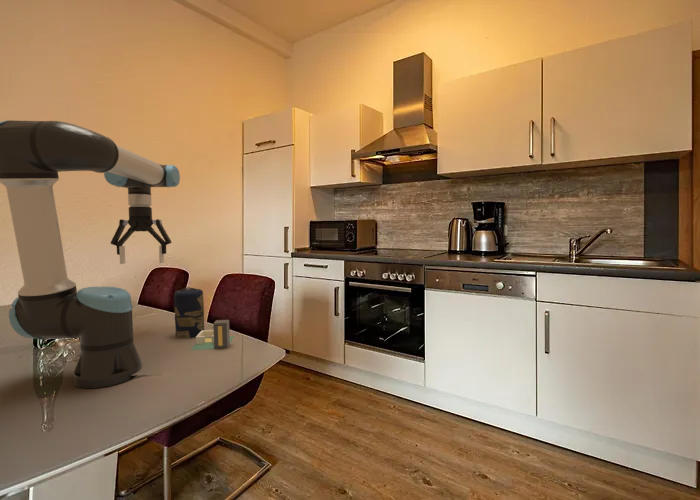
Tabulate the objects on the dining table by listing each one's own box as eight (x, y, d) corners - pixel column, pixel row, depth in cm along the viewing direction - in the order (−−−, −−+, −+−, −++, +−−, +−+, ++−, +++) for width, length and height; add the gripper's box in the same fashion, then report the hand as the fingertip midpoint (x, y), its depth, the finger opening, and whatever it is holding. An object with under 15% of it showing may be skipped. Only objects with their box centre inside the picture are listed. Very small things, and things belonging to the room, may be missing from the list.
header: (220, 343, 120) (220, 335, 120) (195, 344, 119) (195, 337, 119) (224, 336, 127) (224, 329, 127) (201, 337, 126) (201, 330, 126)
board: (227, 351, 115) (227, 348, 115) (190, 353, 114) (190, 350, 114) (234, 339, 128) (234, 335, 128) (201, 340, 127) (201, 337, 126)
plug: (227, 348, 115) (226, 323, 114) (213, 349, 114) (213, 323, 114) (229, 344, 119) (229, 319, 119) (216, 344, 119) (216, 320, 118)
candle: (197, 341, 125) (196, 289, 124) (170, 342, 126) (168, 289, 125) (209, 333, 135) (207, 285, 134) (183, 333, 135) (181, 285, 134)
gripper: (178, 207, 143) (180, 261, 144) (108, 207, 139) (110, 263, 140) (172, 205, 135) (174, 263, 136) (98, 205, 131) (101, 264, 132)
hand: (142, 263), depth 138 cm, fingers open, 13 cm apart
